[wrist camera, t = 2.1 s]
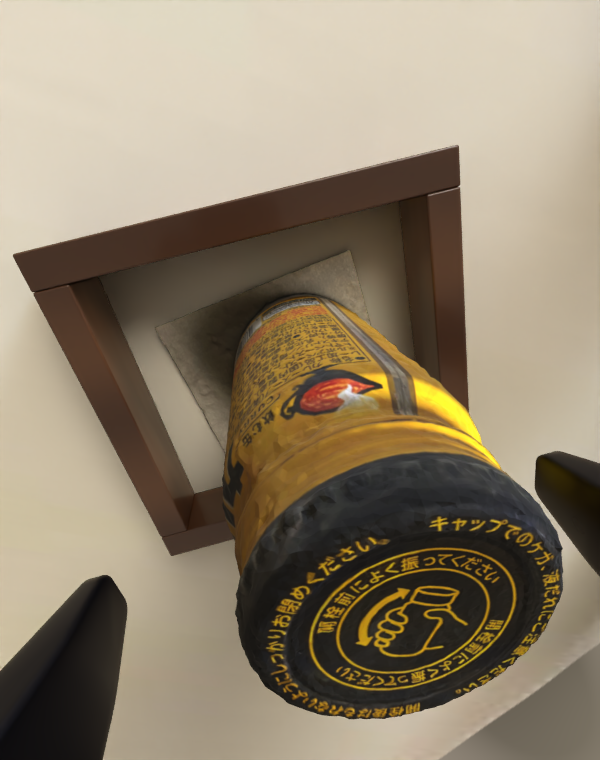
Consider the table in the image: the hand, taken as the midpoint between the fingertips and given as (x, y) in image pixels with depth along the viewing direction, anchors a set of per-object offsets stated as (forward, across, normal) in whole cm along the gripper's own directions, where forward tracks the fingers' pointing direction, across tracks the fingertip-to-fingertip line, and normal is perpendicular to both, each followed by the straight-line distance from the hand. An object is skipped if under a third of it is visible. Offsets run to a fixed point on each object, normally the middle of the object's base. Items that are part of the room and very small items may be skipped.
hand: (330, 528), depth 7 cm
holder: (+10, 0, 0) cm, 10 cm away
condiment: (+10, 0, 0) cm, 10 cm away
